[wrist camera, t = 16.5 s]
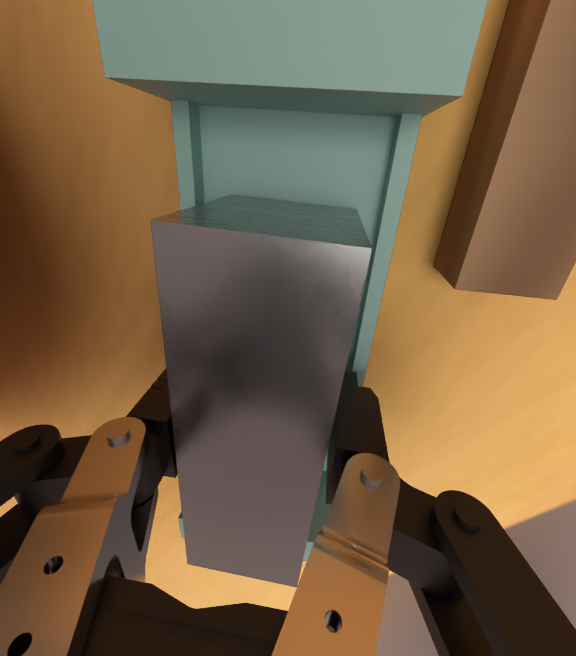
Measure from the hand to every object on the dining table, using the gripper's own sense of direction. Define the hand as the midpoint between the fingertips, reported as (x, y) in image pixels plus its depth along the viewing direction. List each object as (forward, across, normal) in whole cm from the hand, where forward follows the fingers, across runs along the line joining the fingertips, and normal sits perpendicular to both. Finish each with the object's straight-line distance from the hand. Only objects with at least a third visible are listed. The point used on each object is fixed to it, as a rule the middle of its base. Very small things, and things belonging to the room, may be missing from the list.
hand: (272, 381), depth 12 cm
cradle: (+3, 0, -1) cm, 3 cm away
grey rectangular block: (+1, 0, 0) cm, 1 cm away
